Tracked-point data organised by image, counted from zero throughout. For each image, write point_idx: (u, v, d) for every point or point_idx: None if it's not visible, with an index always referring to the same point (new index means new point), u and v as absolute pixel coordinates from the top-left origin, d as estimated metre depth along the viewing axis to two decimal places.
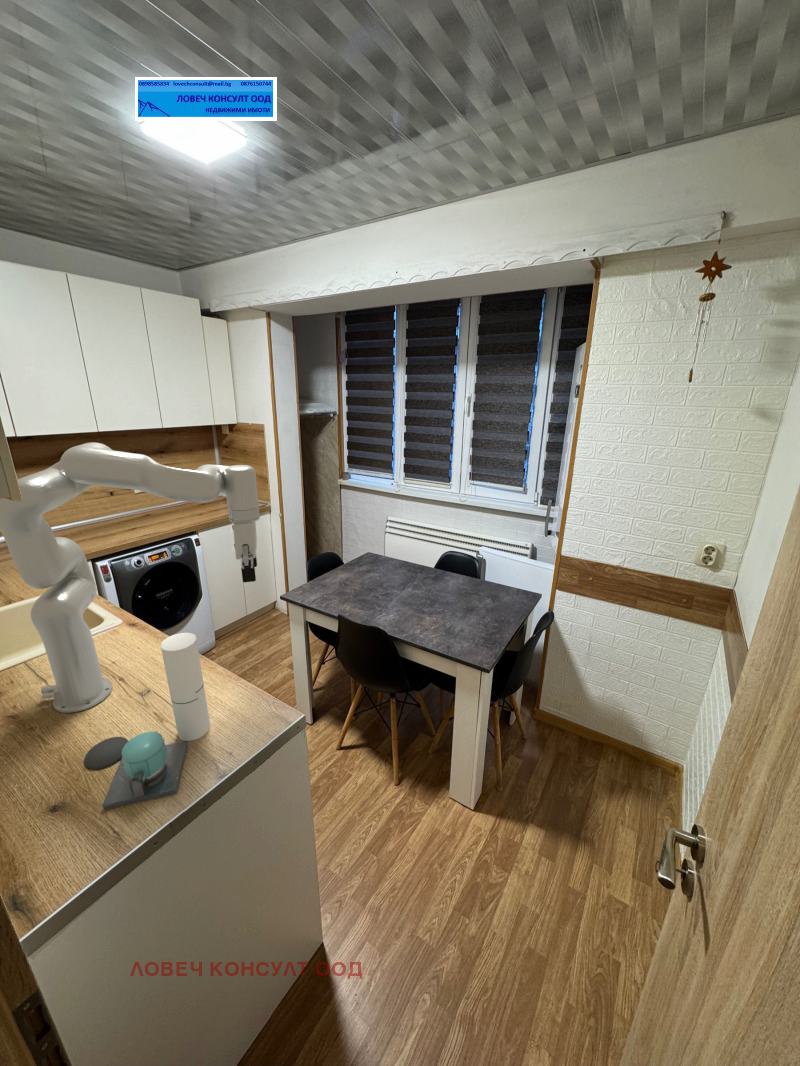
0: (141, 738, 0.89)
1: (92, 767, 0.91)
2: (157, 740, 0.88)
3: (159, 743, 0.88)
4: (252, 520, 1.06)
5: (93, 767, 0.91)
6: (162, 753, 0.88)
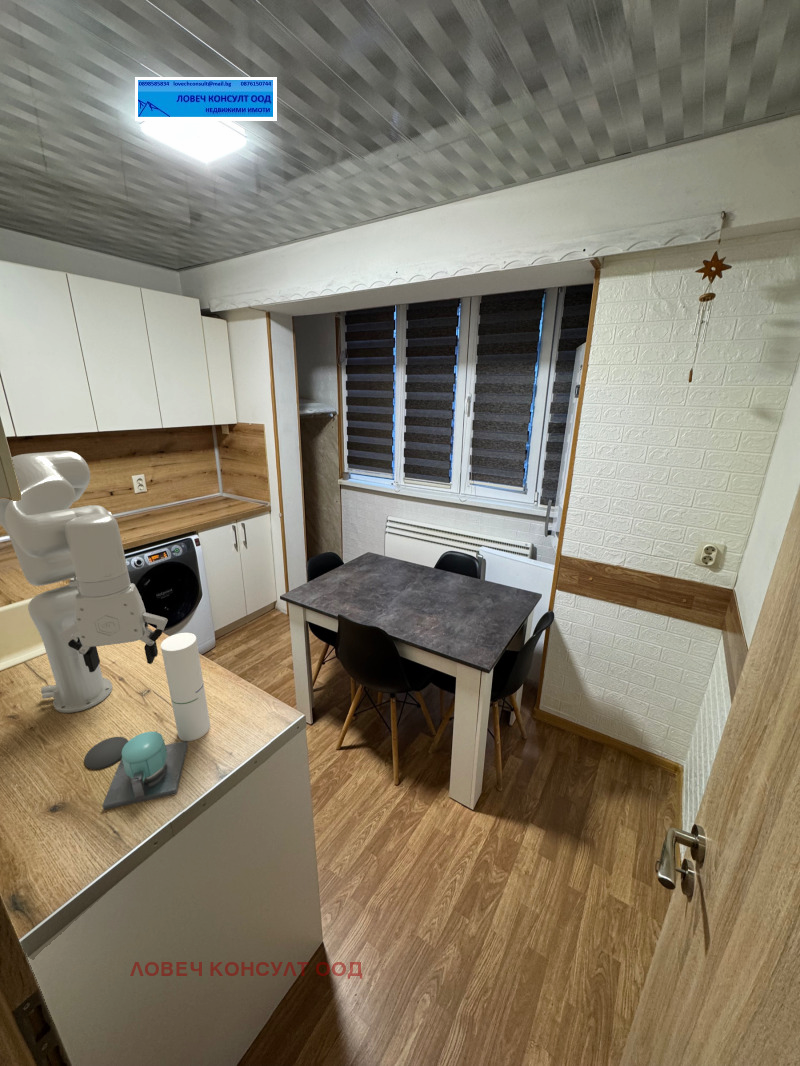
0: (141, 738, 0.89)
1: (92, 767, 0.91)
2: (157, 740, 0.88)
3: (159, 743, 0.88)
4: None
5: (93, 767, 0.91)
6: (162, 753, 0.88)
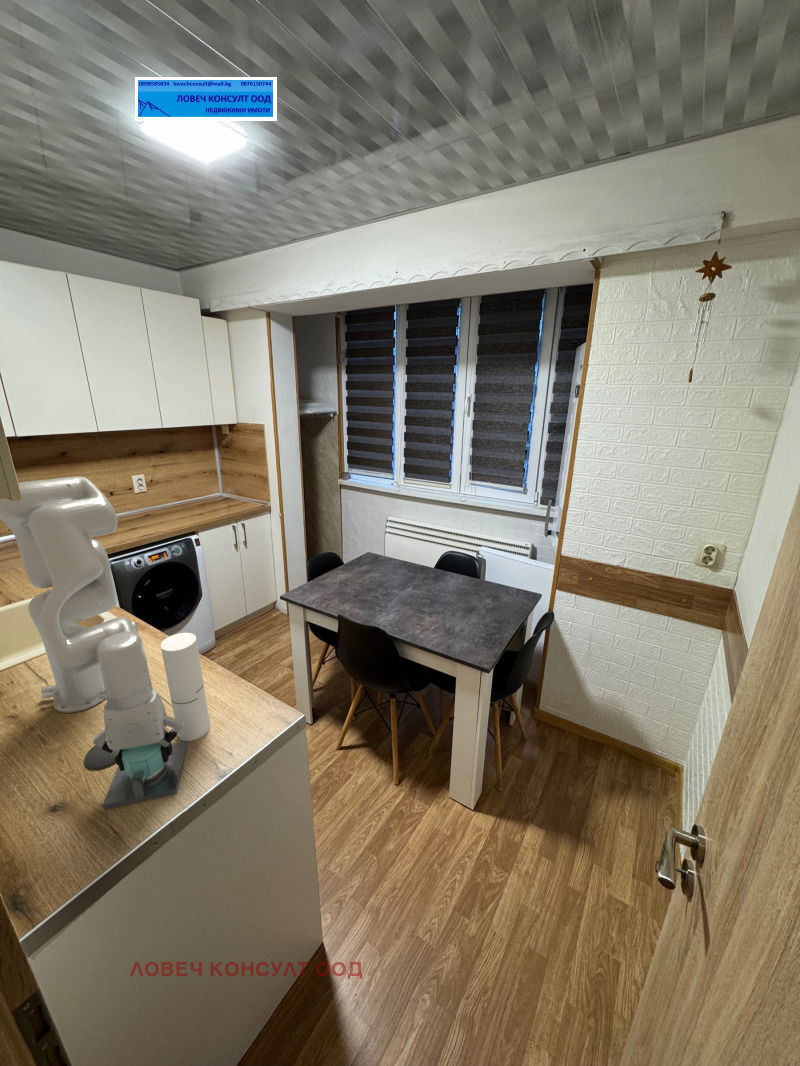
0: None
1: (92, 767, 0.91)
2: None
3: (159, 743, 0.88)
4: None
5: (93, 767, 0.91)
6: None
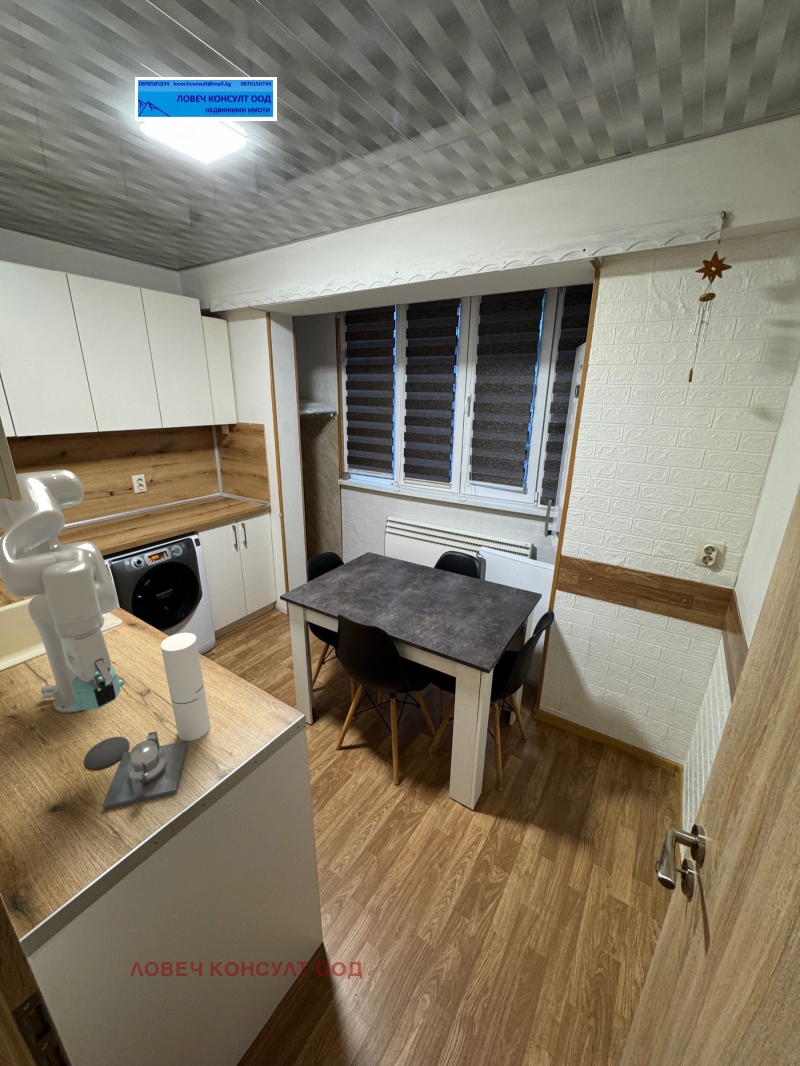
0: None
1: (92, 767, 0.91)
2: None
3: None
4: (99, 627, 0.83)
5: (93, 767, 0.91)
6: None
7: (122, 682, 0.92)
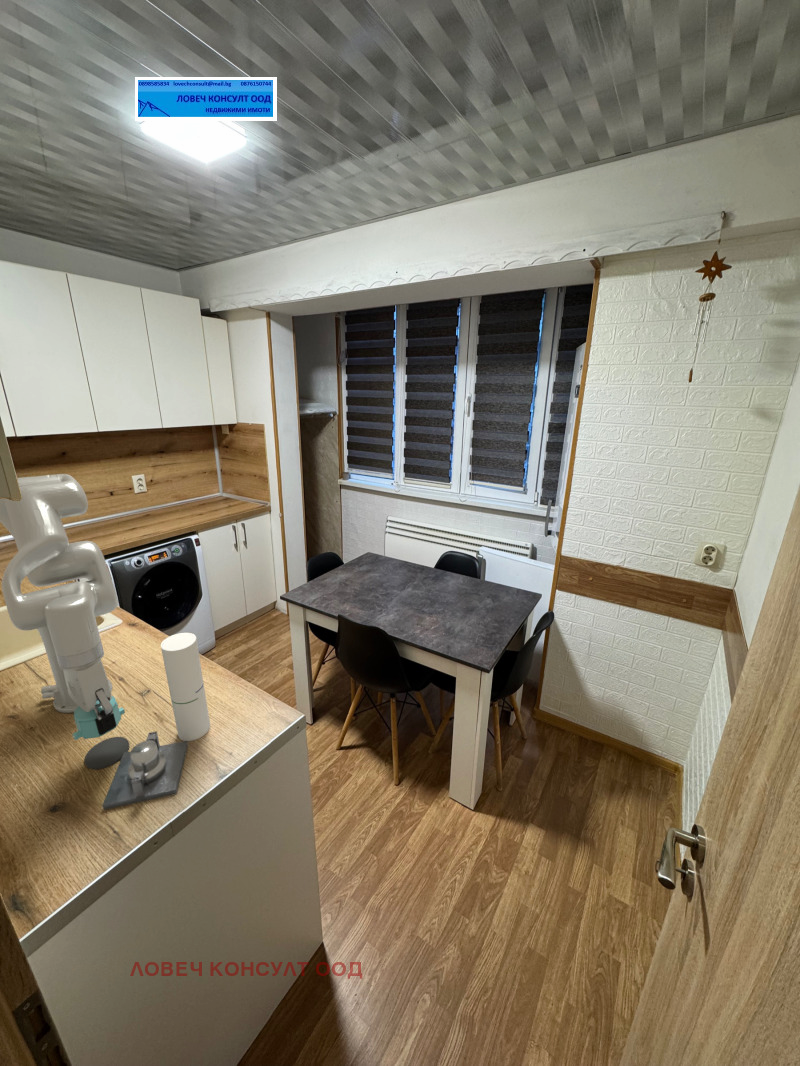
0: None
1: (92, 767, 0.91)
2: None
3: None
4: (100, 657, 0.86)
5: (93, 767, 0.91)
6: None
7: (122, 710, 0.94)
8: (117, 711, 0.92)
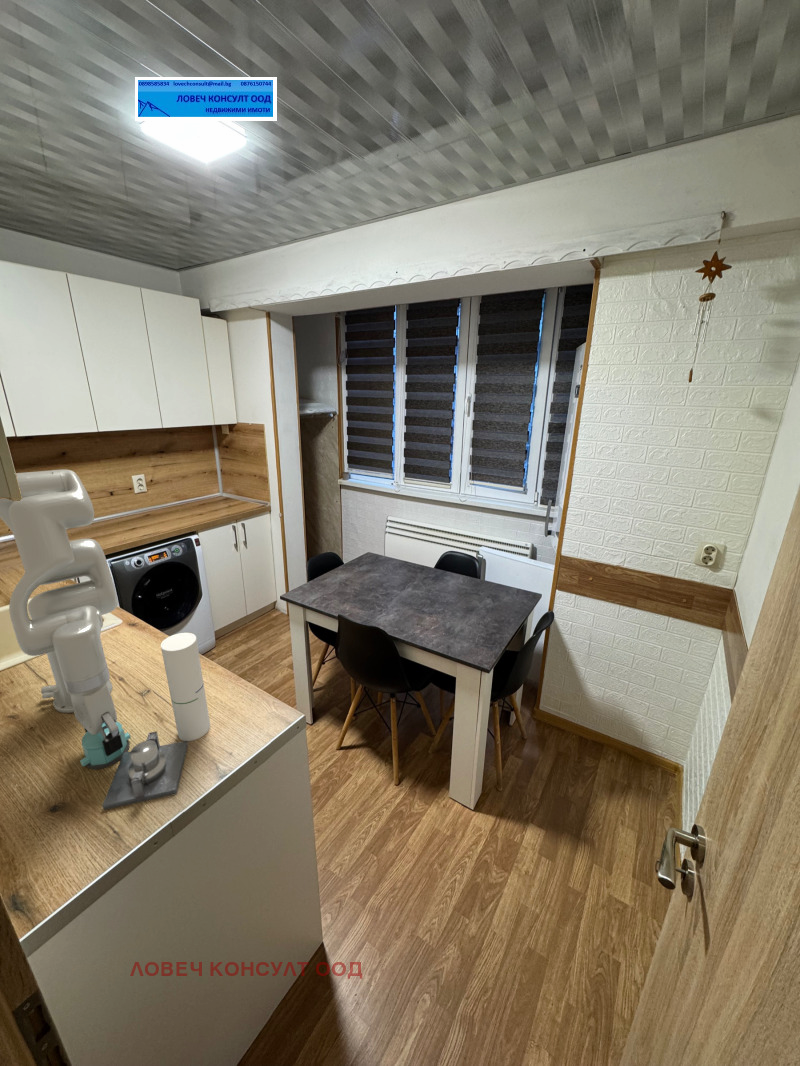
0: None
1: (92, 767, 0.91)
2: None
3: None
4: (106, 682, 0.88)
5: (93, 767, 0.91)
6: None
7: (128, 736, 0.97)
8: (123, 737, 0.95)
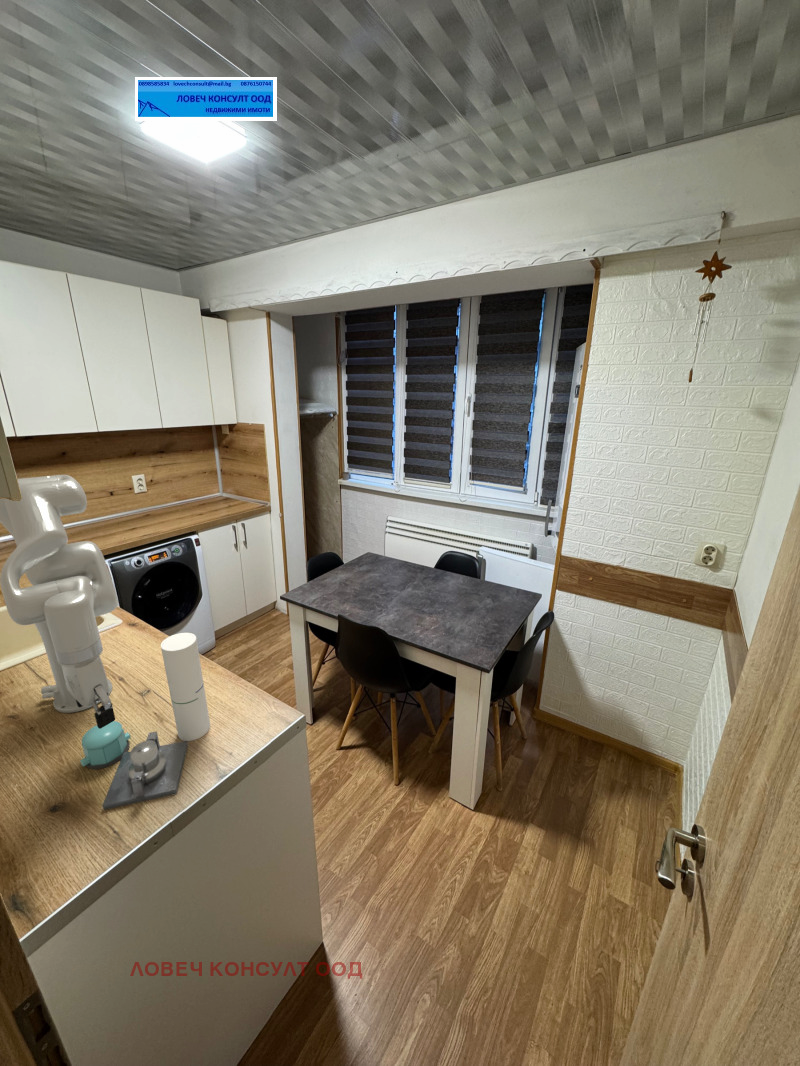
0: (110, 726, 0.95)
1: (92, 767, 0.91)
2: (110, 736, 0.92)
3: (107, 741, 0.91)
4: (98, 654, 0.86)
5: (93, 767, 0.91)
6: (107, 751, 0.91)
7: (128, 736, 0.97)
8: (123, 737, 0.95)
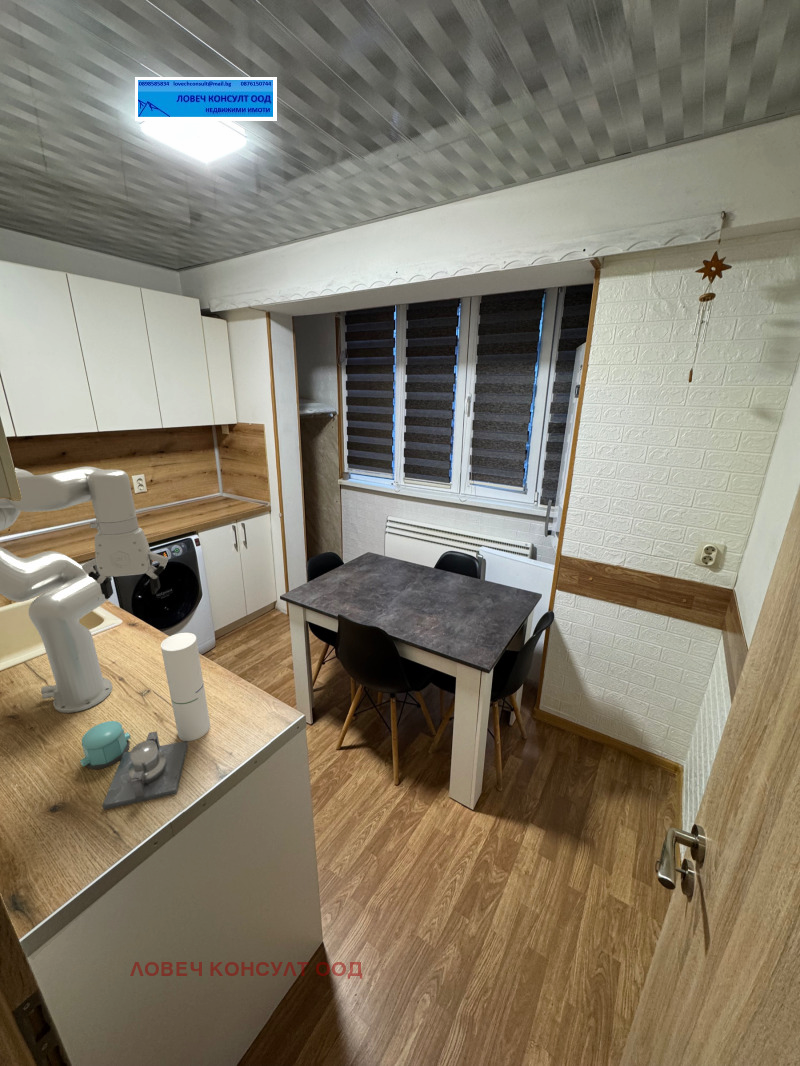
0: (110, 726, 0.95)
1: (92, 767, 0.91)
2: (110, 736, 0.92)
3: (107, 741, 0.91)
4: None
5: (93, 767, 0.91)
6: (107, 751, 0.91)
7: (128, 736, 0.97)
8: (123, 737, 0.95)
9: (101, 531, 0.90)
